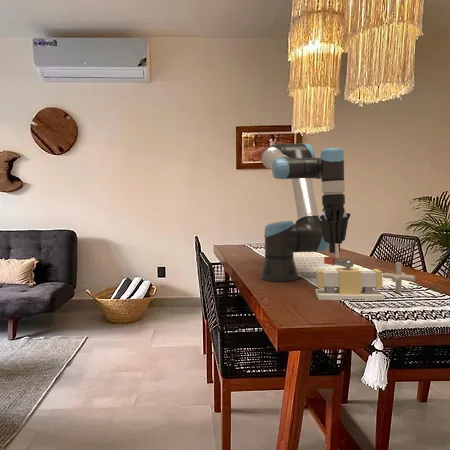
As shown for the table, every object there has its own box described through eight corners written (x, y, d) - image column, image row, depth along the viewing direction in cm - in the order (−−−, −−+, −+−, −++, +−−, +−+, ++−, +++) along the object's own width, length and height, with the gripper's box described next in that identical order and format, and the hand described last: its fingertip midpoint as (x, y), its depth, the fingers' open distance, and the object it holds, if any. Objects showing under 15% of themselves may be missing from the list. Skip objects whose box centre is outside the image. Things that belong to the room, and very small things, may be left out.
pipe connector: (387, 287, 135) (387, 259, 135) (418, 290, 129) (418, 261, 128) (378, 292, 128) (378, 263, 127) (410, 296, 121) (410, 265, 121)
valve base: (315, 293, 129) (315, 265, 128) (376, 293, 126) (376, 265, 125) (318, 299, 120) (318, 269, 119) (384, 300, 117) (384, 270, 117)
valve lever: (323, 263, 131) (323, 257, 130) (330, 262, 132) (330, 256, 132) (348, 268, 120) (348, 261, 120) (355, 267, 122) (355, 260, 122)
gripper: (340, 193, 135) (342, 258, 136) (311, 194, 130) (313, 262, 131) (355, 192, 128) (357, 261, 129) (325, 194, 123) (327, 265, 124)
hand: (335, 262), depth 130 cm, fingers closed
